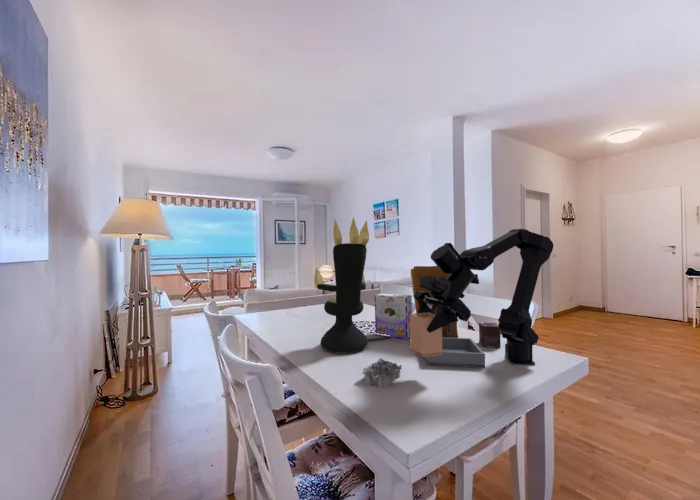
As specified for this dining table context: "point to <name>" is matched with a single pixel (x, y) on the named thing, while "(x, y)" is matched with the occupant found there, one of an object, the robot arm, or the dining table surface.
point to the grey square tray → (458, 354)
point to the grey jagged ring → (387, 371)
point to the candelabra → (346, 291)
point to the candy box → (393, 315)
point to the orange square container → (424, 336)
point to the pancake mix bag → (416, 276)
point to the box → (489, 334)
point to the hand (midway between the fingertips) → (421, 328)
